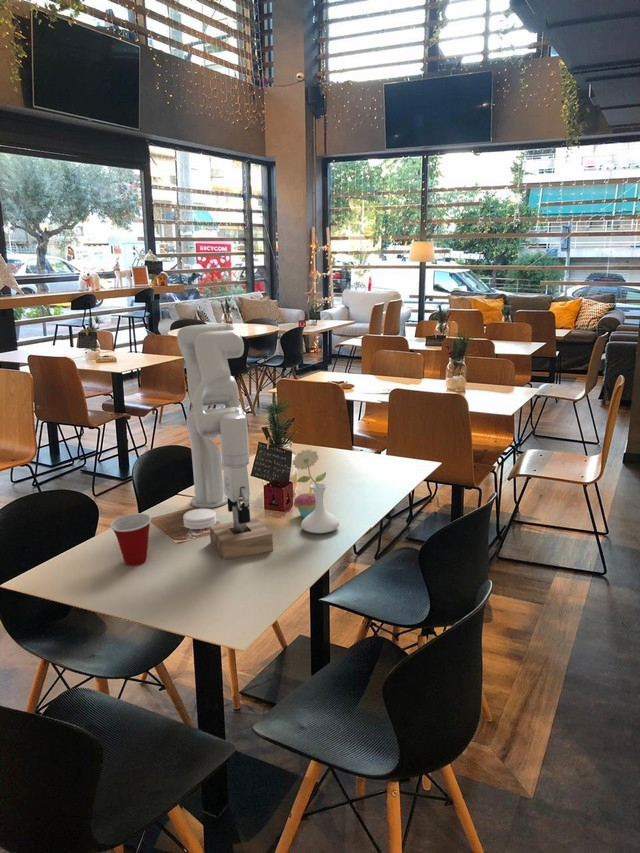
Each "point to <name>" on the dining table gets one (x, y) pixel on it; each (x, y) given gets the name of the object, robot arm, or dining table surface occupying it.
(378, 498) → the dining table surface
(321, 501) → the flower in vase
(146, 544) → the plastic cup
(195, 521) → the white round disc stack
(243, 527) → the steel pin
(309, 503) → the cupcake
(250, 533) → the socket block
